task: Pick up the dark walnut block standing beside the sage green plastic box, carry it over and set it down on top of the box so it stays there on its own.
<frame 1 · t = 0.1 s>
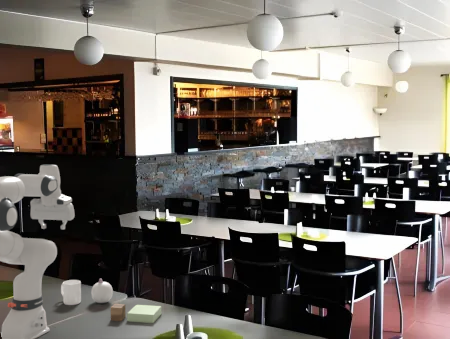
hand: (53, 228, 253), 39 cm above the table, tool pointing down, fingers open, 8 cm apart
base box: (144, 318, 249), on the table
ornament: (102, 303, 270), on the table
cup: (69, 302, 271), on the table
walnut block: (118, 318, 247), on the table
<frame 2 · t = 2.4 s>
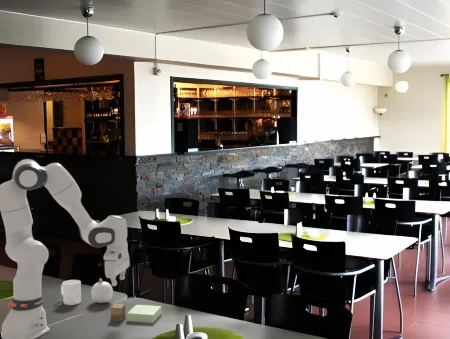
hand: (118, 282, 246), 16 cm above the table, tool pointing down, fingers open, 8 cm apart
nothing on the table moved.
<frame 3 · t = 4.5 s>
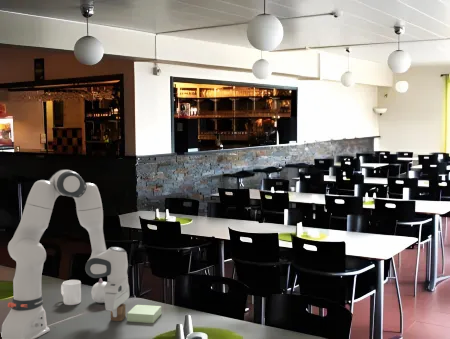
hand: (118, 314, 247), 2 cm above the table, tool pointing down, fingers closed on walnut block, 5 cm apart
walnut block: (118, 318, 247), on the table, touching gripper
everything else where it was.
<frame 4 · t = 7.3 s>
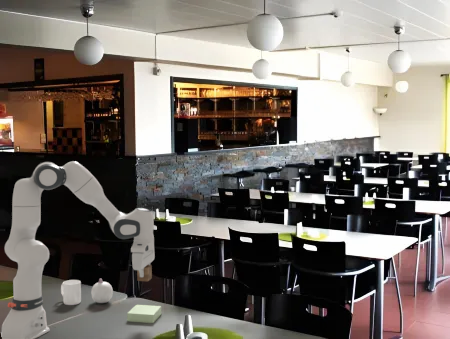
hand: (144, 274, 248), 19 cm above the table, tool pointing down, fingers closed on walnut block, 5 cm apart
walnut block: (144, 279, 248), point 17 cm above the table, touching gripper
everything else where it was.
when the fingers open (8 cm above the table, at t = 10.3 s): walnut block drops 2 cm, point 3 cm above the table.
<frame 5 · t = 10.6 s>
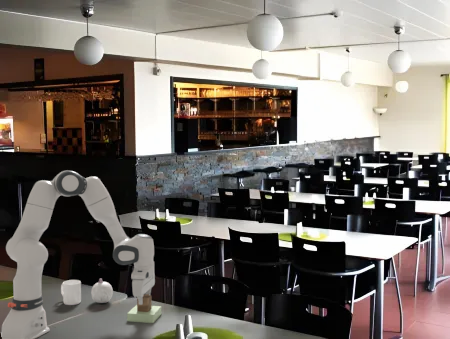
hand: (144, 300, 249), 8 cm above the table, tool pointing down, fingers open, 8 cm apart
walnut block: (144, 309, 249), point 3 cm above the table
everything else where it was.
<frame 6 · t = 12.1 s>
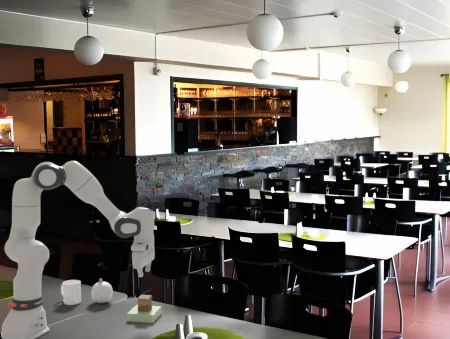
hand: (144, 274, 247), 20 cm above the table, tool pointing down, fingers open, 8 cm apart
base box: (144, 318, 249), on the table, touching walnut block
walnut block: (145, 309, 249), point 3 cm above the table, touching base box
everything else where it was.
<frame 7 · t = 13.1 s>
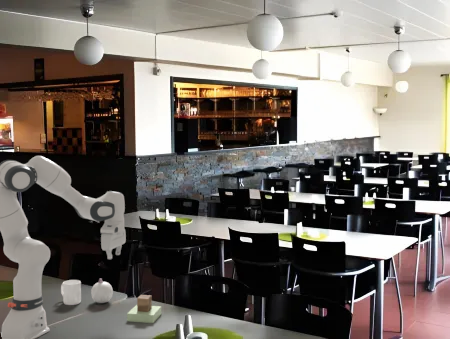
hand: (113, 256, 252), 26 cm above the table, tool pointing down, fingers open, 8 cm apart
nothing on the table moved.
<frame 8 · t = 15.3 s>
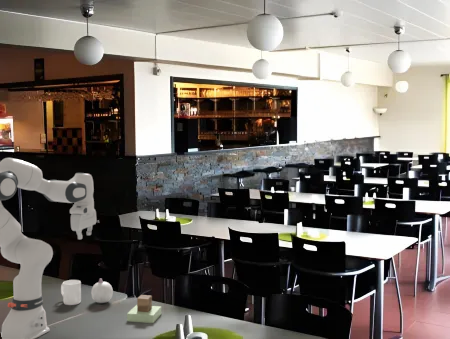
hand: (84, 237, 258), 34 cm above the table, tool pointing down, fingers open, 8 cm apart
nothing on the table moved.
at the end: walnut block inside the target area on the base box (0.1 cm from its centre), point 4.0 cm above the base box's base; walnut block tilted 0°; the gripper is holding nothing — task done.
